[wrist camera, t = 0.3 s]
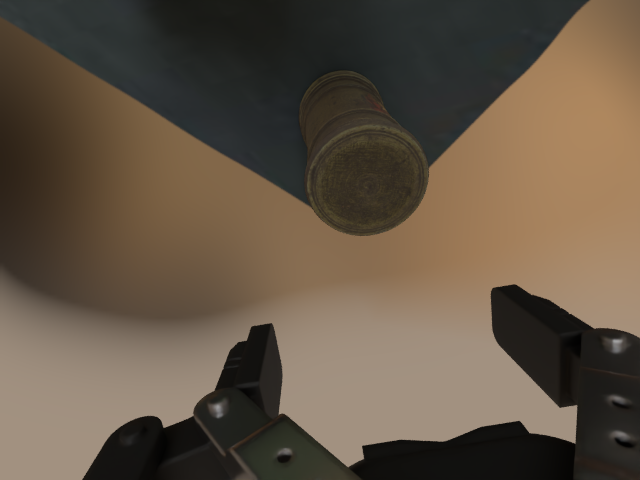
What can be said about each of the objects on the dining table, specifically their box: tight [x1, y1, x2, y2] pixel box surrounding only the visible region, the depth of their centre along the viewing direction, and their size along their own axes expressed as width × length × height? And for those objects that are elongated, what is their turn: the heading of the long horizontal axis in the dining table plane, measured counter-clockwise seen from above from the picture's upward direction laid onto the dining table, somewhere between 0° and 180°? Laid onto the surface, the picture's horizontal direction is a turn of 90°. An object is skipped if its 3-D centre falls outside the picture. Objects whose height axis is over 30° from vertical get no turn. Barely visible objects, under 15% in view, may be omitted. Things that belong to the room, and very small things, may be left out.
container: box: [299, 70, 429, 236], centre depth 32 cm, size 9×9×18 cm
